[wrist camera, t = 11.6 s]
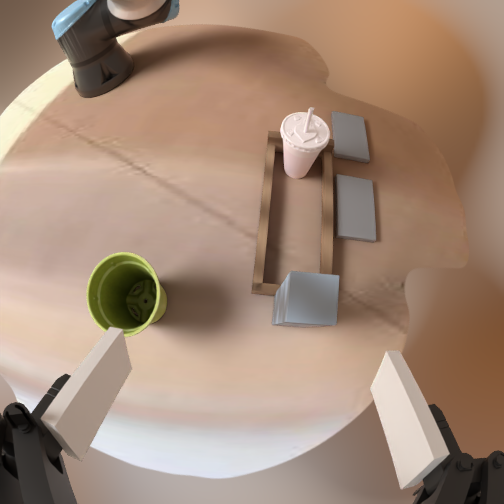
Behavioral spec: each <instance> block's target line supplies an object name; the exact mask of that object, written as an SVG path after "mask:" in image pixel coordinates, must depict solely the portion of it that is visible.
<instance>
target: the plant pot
mask: <svg viewBox="0 0 504 504" xmlns="http://www.w3.org/2000/svg"><path fill="white" fill-rule="evenodd" d="M137 286H140V288H139V289H137V290H136V291H135V292H134V289H135V288H136V287H137ZM155 287H157V290H156V288H155ZM86 296H87V305H88V309H89V312H90V315H91V317H92V319H93V320H94V322H95V323H96V324H97V325H98V326H99V328H101V329H102V330H103V331H104V332H106V331H107V330H108V329H109V327H114V328H119V329H123V333H124V337H130V336H133V335H136V334H138V333H140V332H141V331H143V330H144V329H145V328H146V327H147V326H148V325H149V324H151V323H154V322H156V321H158V320H159V319H160V318H161V317H162V316H163V314H164V313H165V311H166V307H167V296H166V293H165V291H164V289H163V287H162V286H161V285H160V283H159V279H158V277H157V274H156V272H155V270H154V269H153V267H152V266H151V265H150V264H149V263H148V262H147V261H146V260H145V259H144V258H142V257H141V256H139V255H136V254H134V253H129V252H119V253H114V254H112V255H110V256H108V257H106V258H105V259H103V260H102V261H101V262H100V263H99V264H98V265H97V266H96V268H95V269H94V270H93V272H92V274H91V276H90V279H89V282H88V286H87V293H86ZM145 299H146V300H147V303H145V302H144V300H145ZM132 308H134V310H135V312H136V313H137V314H138V316H136V315H135V314H134V313H133V311H132Z"/></svg>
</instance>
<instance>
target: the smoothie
mask: <svg viewBox="0 0 504 504" xmlns="http://www.w3.org/2000/svg"><path fill="white" fill-rule="evenodd" d="M313 111H314V108H313V107H309V110H308V113H306V112H297V113H293V114H290V115H288V116H287V117H286V118H285V119H284V120H283V122H282V126H281V131H280V133H281V137H282V138H283V151H284V170H285V172H286V174H287V175H288V176H290V177H292V178H295V179H299V178H303V177H304V176H305V175H306V174H307V172H308V171H309V169H310V167H311V166H312V164H313V163H314V161H315V159H316V158H317V156H318V154H319V153H320V151H321V150H322V149H323V148H325V147H326V145H327V144H328V141H329V138H330V130H329V127H328V125H327V124H326V123H325V122H324V121H323V120H322V119H321V118H319V117H318V116H316V115H314V114H313Z"/></svg>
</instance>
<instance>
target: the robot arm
mask: <svg viewBox="0 0 504 504" xmlns="http://www.w3.org/2000/svg"><path fill="white" fill-rule="evenodd" d="M178 13H179V0H77V1H76V2H74V3H73V4H71V5H70V6H69V7H67V8H66V9H65V10H63V11H62V12H61V13H60V14H59V15H58V16H57V17H56V18H55V20H54V21H53V23H52V29H53V32H54V34H55V37H56V40H57V41H58V43H59V44H60V46H61V48H62V50H63V52H64V54H65V55H66V57H67V59H68V61H69V62H70V64H71V66H72V68H73V75H74V81H75V88H76V90H77V92H78V93H79V95H80V96H82V97H85V98H89V97H95V96H98V95H101V94H103V93H105V92H107V91H109V90H111V89H113V88H114V87H116V86H117V85H119V84H120V83H121V82H123V81H124V80H125V79H126V78H127V77H128V76H129V75H130V73H131V72H132V70H133V67H134V63H133V60H132V58H131V56H130V55H129V54H128V53H127V52H126V51H125V50H124V49H123V48H122V46H121V45H120V44H119V43H118V42H117V40H116V37H118V36H120V35H123V34H126V33H129V32H132V31H135V30H138V29H141V28H144V27H148V26H151V25H155V24H158V23H164V22H166V21H169V20H171V19H174V18H176V17H177V15H178ZM131 370H132V367H131V363H130V359H129V355H128V351H127V347H126V342H125V338H124V333H123V329H119V328H114V327H109V329H108V330H107V331H106V332H105V334H104V335H103V336H102V337H101V338H100V340H99V341H98V342H97V343H96V345H95V346H94V347H93V348H92V350H91V351H90V352H89V354H88V355H87V356H86V357H85V359H84V360H83V361H82V362H81V364H80V365H79V366H78V368H77V369H76V370H75V372H74V373H73V374H72V376H70V375H68V374H64V375H63V376H61V377H60V378H58V379H57V380H56V381H55V382H54V384H53V385H52V386H51V388H50V389H49V390H48V392H47V394H45V396H44V397H43V398H42V400H41V401H40V402H39V404H38V405H37V406H36V408H35V409H34V410H33V412H32V413H31V414H30V412H29V411H28V409H27V408H26V407H25V405H24V404H21V403H17V402H15V403H12V404H10V405H8V406H7V407H6V408H5V410H4V412H3V416H2V415H1V413H0V504H77V502H76V499H75V496H74V493H73V490H72V488H71V485H70V482H69V478H68V475H67V472H66V468H65V465H64V461H63V458H62V455H61V453H60V452H61V451H62V449H63V450H64V451H65V452H66V453H67V454H68V455H69V456H71V457H73V458H75V459H77V460H79V461H82V460H83V458H84V456H85V454H86V452H87V450H88V449H89V447H90V445H91V443H92V441H93V439H94V437H95V435H96V433H97V431H98V429H99V428H100V426H101V424H102V422H103V420H104V418H105V416H106V414H107V413H108V411H109V409H110V407H111V405H112V404H113V402H114V400H115V398H116V396H117V395H118V393H119V391H120V389H121V387H122V386H123V384H124V382H125V380H126V379H127V377H128V375H129V373H130V372H131ZM370 390H371V393H372V395H373V398H374V401H375V404H376V407H377V410H378V413H379V416H380V419H381V423H382V426H383V429H384V432H385V435H386V438H387V442H388V445H389V448H390V452H391V455H392V459H393V462H394V465H395V469H396V473H397V477H398V481H399V484H400V488H401V489H405V488H408V487H412V486H415V485H417V484H418V483H419V482H420V481H421V480H423V482H424V485H423V486H421V487H420V488H419V489H418V490H416V491H415V492H414V494H413V495H416V494H417V493H418V492H419V493H418V495H417V497H416V499H415V501H414V503H413V504H504V453H503V452H502V451H494V452H493V453H491V454H490V455H489V456H488V457H487V458H479V459H473V457H472V456H471V455H469V454H467V453H462V452H461V450H460V449H459V446H458V444H457V442H456V440H455V438H454V436H453V434H452V431H451V429H450V428H449V425H448V423H447V421H446V419H445V417H444V415H443V413H442V411H441V410H440V409H439V408H438V407H437V406H436V405H435V404H432V405H427V403H426V401H425V399H424V397H423V395H422V393H421V391H420V389H419V387H418V385H417V383H416V381H415V379H414V377H413V375H412V373H411V371H410V369H409V368H408V366H407V364H406V362H405V360H404V359H403V357H402V355H401V353H400V351H399V350H395V351H386V353H385V356H384V358H383V360H382V363H381V365H380V368H379V370H378V372H377V375H376V377H375V379H374V381H373V384H372V386H371V388H370ZM2 449H3V450H2ZM480 491H481V492H480Z"/></svg>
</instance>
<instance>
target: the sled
mask: <svg viewBox="0 0 504 504" xmlns="http://www.w3.org/2000/svg"><path fill="white" fill-rule="evenodd" d="M333 148H334V140H332V139H329V141H328V144H327V145H326V147H325V148H323V149H322V150H321V151H320V153H319V154H318V156H317V157H320V158H322V232H321V260H320V274H318V273H308V272H297V271H290V273H289V274H288V276H287V277H286V279H285V280H284V282H283V283H282V285H277V284H267V283H263V273H264V263H265V253H266V242H267V232H268V221H269V211H270V200H271V189H272V177H273V166H274V154H275V152H283V153H284V151H283V138H282V137H281V133H280V132H275V131H269V132H268V143H267V153H266V163H265V172H264V182H263V191H262V201H261V210H260V220H259V229H258V239H257V248H256V257H255V266H254V276H253V285H252V293H253V294H263V295H273V296H275V299H274V309H273V319H272V325H280V326H292V327H317V326H333V325H336V323H337V309H338V292H339V275H332V258H333V175H332V150H333Z"/></svg>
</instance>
